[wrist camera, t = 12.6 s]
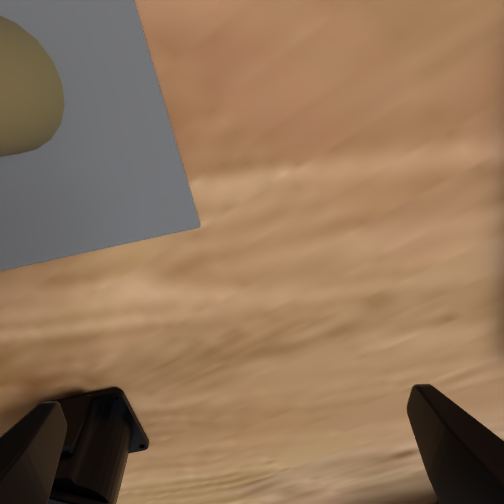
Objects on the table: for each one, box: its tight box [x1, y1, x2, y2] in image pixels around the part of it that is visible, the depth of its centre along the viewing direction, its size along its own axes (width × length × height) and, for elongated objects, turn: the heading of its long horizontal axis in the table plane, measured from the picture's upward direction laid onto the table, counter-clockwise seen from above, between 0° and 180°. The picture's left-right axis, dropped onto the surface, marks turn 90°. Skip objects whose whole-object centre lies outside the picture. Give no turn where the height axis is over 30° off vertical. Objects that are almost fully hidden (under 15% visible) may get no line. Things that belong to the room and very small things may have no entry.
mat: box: [0, 0, 200, 271], centre depth 17 cm, size 18×14×1 cm
